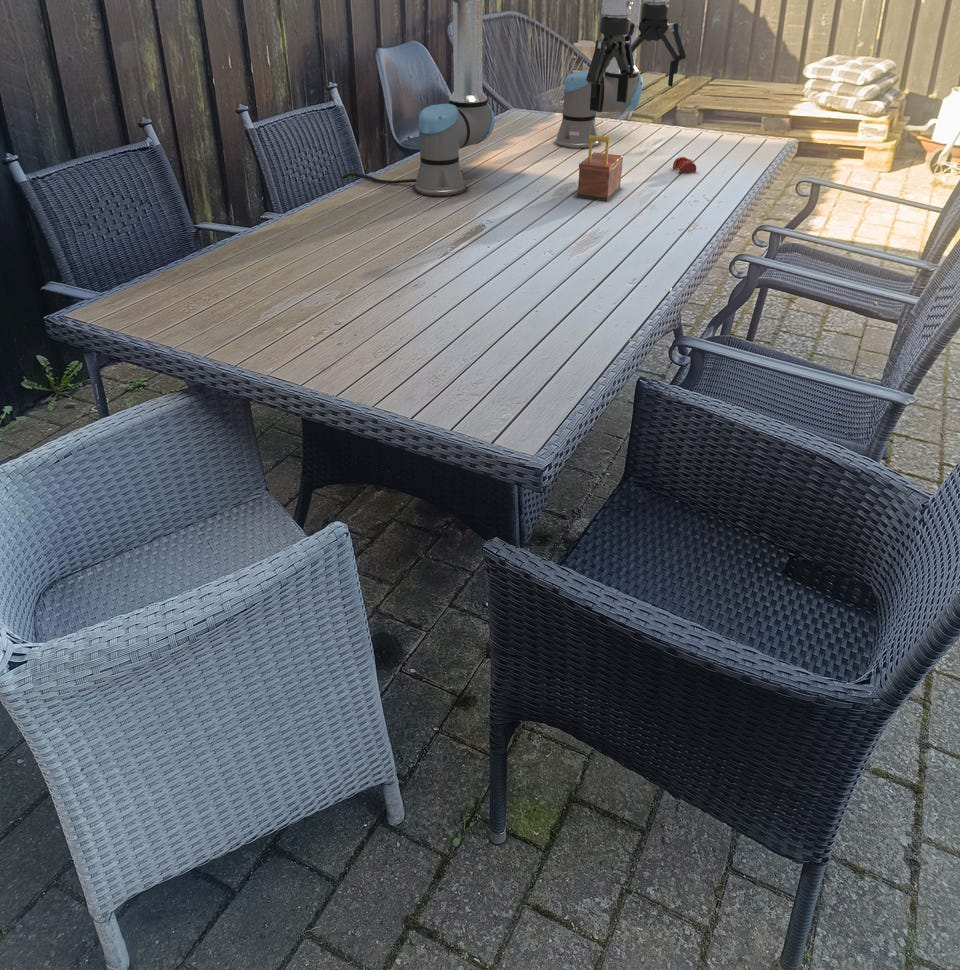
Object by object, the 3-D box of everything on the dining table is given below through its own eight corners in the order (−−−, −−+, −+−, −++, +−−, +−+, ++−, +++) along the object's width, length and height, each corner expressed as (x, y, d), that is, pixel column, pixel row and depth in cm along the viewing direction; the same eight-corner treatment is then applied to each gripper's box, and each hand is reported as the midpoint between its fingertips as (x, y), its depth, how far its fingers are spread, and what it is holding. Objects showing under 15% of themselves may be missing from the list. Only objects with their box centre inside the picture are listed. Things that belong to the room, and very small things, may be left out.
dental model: (688, 153, 276) (699, 160, 270) (686, 166, 279) (697, 173, 272) (672, 155, 275) (682, 161, 269) (670, 168, 278) (681, 175, 271)
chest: (606, 201, 249) (609, 171, 244) (577, 197, 252) (579, 167, 247) (620, 188, 259) (622, 159, 254) (591, 185, 262) (593, 156, 257)
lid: (608, 171, 244) (611, 140, 239) (578, 167, 247) (580, 137, 242) (622, 159, 254) (625, 129, 249) (593, 156, 257) (595, 126, 252)
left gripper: (602, 22, 204) (595, 116, 216) (653, 12, 220) (644, 100, 232) (576, 20, 208) (570, 112, 220) (628, 10, 223) (620, 96, 236)
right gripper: (613, 5, 233) (606, 88, 245) (703, 4, 233) (692, 88, 245) (609, 1, 239) (603, 83, 251) (697, 1, 239) (686, 83, 252)
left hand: (608, 106), depth 226 cm, fingers open, 13 cm apart
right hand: (647, 85), depth 248 cm, fingers open, 13 cm apart
